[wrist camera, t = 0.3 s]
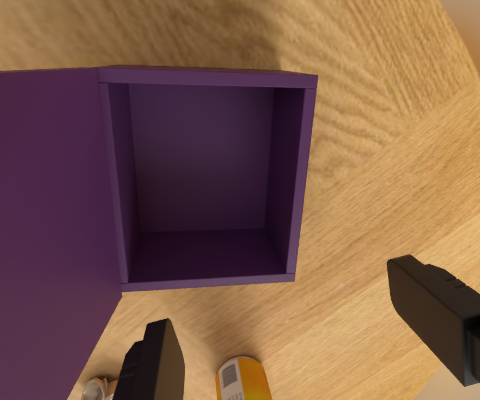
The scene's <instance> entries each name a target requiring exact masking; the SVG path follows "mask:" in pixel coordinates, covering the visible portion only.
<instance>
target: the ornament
mask: <svg viewBox="0 0 480 400" xmlns="http://www.w3.org/2000/svg"><path fill="white" fill-rule="evenodd" d="M117 382H118V380H115V381H112V382H110V383H109V384H108V381H107V379H106V378H104V379H101V380H100V379H99V378H92V379H91V380H89V381H88V383H87V384H86V386H85V389H84V391H83V394H82V397H81V400H112V399H113V395H114V392H115V389H116V385H117Z"/></svg>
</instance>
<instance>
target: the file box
mask: <svg viewBox="0 0 480 400" xmlns="http://www.w3.org/2000/svg"><path fill="white" fill-rule="evenodd" d="M93 68H96V73H97V81H98V90H99V99H100V108H101V117H102V125H103V134H104V143H105V152H106V161H107V169H108V178H109V187H110V196H111V204H112V213H113V222H114V231H115V240H116V248H117V257H118V266H119V275H120V284H121V292H132V291H149V290H165V289H181V288H197V287H213V286H230V285H246V284H262V283H278V282H294V281H295V272H296V263H297V255H298V246H299V237H300V229H301V220H302V211H303V203H304V194H305V186H306V177H307V168H308V160H309V151H310V142H311V134H312V125H313V116H314V108H315V99H316V91H317V89H316V88H317V82H318V75H313V74H305V73H297V72H290V71H282V70H255V69H227V68H199V67H171V66H143V65H111V66H102V67H93Z"/></svg>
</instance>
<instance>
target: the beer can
mask: <svg viewBox="0 0 480 400" xmlns="http://www.w3.org/2000/svg"><path fill="white" fill-rule="evenodd" d="M216 390H217V400H272V397H271V393H270V389H269V385H268V382H267V378H266V374H265V370H264V367H263V366H262V365H261V364H260V363H259V362H258V361H256V360H255V359H253V358H251V357H247V356H238V357H234V358H231V359H229V360H228V361H226V362H225V363H224V364H223V365H222V367H221V368H220V369H219V371H218V372H217V375H216Z"/></svg>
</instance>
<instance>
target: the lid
mask: <svg viewBox="0 0 480 400" xmlns="http://www.w3.org/2000/svg"><path fill="white" fill-rule="evenodd" d="M121 298H122V292H121V284H120V275H119V266H118V257H117V248H116V240H115V231H114V222H113V213H112V204H111V196H110V187H109V178H108V169H107V161H106V152H105V143H104V134H103V125H102V117H101V108H100V99H99V90H98V81H97V73H96V68H84V67H82V68H59V69H36V70H13V71H0V400H67V398H68V397H69V395H70V393H71V391H72V389H73V387H74V385H75V383H76V382H77V380H78V378H79V376H80V374H81V372H82V370H83V369H84V367H85V365H86V363H87V361H88V359H89V357H90V355H91V354H92V352H93V350H94V348H95V346H96V344H97V342H98V341H99V339H100V337H101V335H102V333H103V331H104V329H105V327H106V326H107V324H108V322H109V320H110V318H111V316H112V314H113V313H114V311H115V309H116V307H117V305H118V303H119V301H120V300H121Z"/></svg>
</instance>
